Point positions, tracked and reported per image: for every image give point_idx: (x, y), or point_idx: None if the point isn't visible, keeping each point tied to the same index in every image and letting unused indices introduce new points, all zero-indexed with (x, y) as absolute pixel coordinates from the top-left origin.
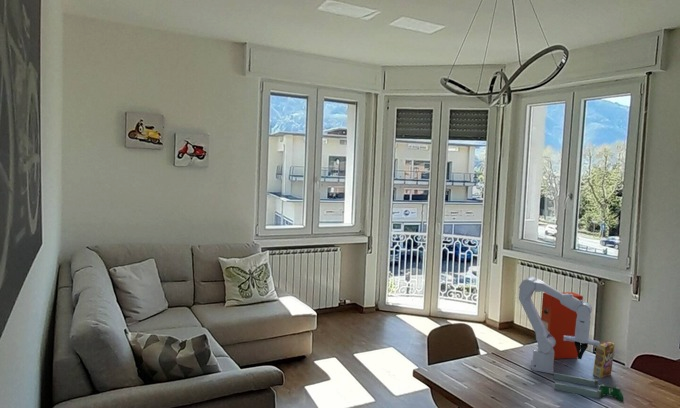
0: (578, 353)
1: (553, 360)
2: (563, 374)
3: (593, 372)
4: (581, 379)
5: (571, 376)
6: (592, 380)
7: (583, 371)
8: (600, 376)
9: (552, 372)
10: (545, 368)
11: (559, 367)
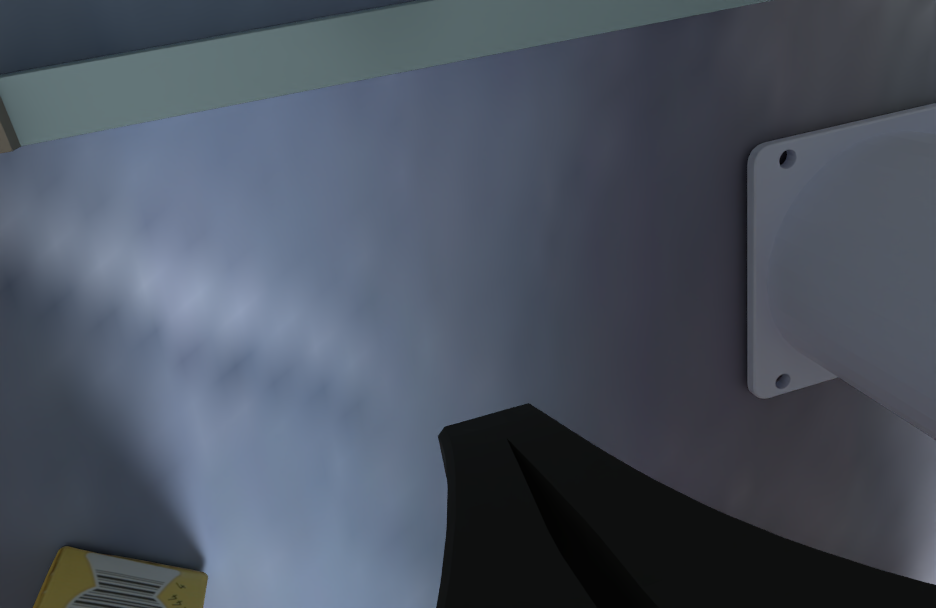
0: (625, 486)
1: (907, 314)
2: (651, 9)
3: (198, 602)
4: (295, 24)
5: (502, 5)
6: (62, 92)
7: (358, 592)
8: (66, 564)
9: (775, 164)
10: (913, 142)
11: (668, 476)
